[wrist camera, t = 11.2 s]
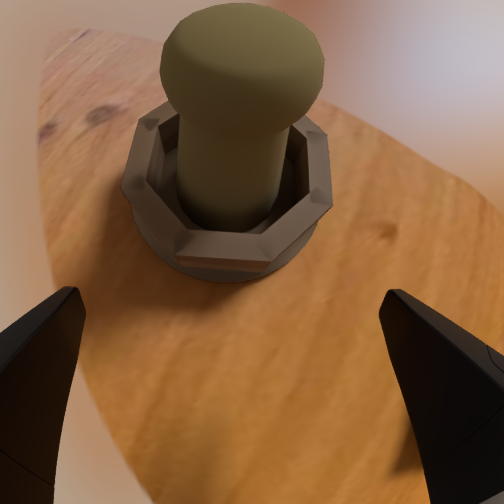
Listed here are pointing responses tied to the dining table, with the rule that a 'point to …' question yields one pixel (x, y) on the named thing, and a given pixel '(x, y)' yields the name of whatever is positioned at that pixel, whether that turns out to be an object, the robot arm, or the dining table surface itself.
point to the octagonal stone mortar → (225, 243)
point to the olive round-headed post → (237, 108)
